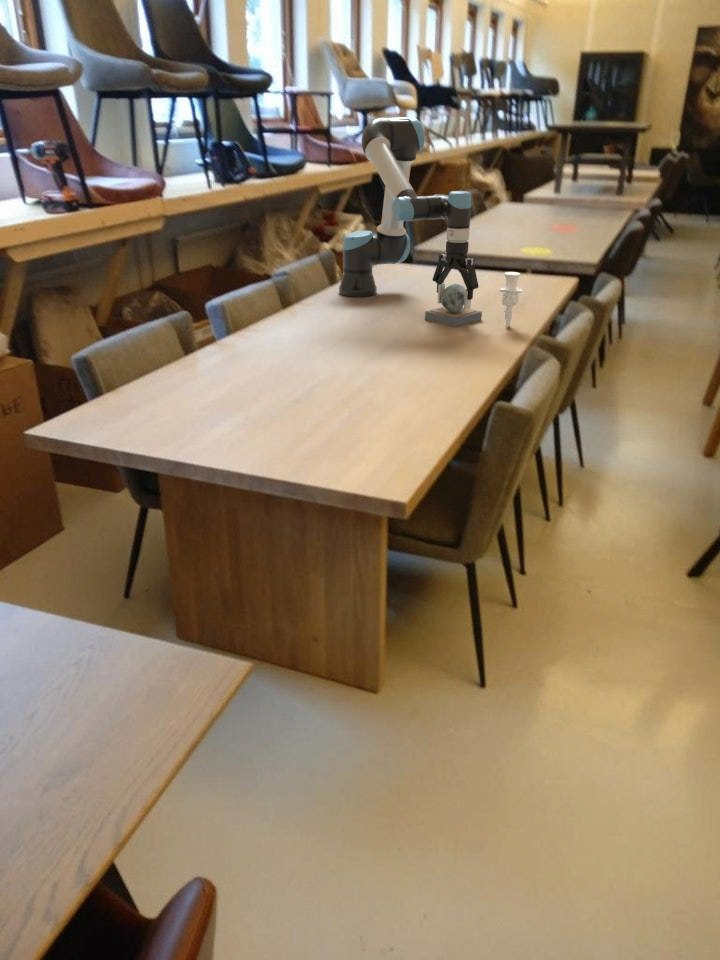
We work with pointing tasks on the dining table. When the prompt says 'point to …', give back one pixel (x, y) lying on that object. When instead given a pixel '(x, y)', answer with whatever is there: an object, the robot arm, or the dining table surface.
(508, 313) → the figurine
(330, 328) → the dining table surface
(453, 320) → the stand
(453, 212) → the robot arm
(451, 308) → the grey streaked ellipsoid
